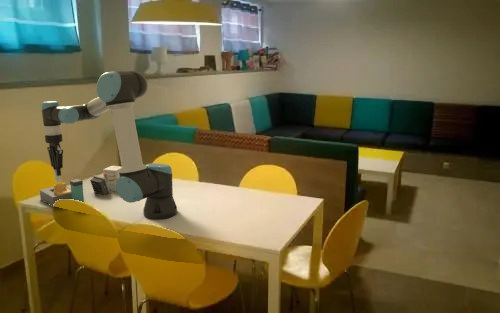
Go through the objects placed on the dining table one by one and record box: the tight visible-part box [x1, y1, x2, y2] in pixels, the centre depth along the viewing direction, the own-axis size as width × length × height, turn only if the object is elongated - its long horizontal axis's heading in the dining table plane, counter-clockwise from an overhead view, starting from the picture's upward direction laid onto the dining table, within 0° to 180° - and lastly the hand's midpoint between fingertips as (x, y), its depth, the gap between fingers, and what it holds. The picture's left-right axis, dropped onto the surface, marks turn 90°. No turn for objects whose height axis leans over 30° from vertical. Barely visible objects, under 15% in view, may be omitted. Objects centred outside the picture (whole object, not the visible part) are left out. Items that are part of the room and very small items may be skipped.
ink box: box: [102, 165, 122, 192], centre depth 232 cm, size 9×8×12 cm
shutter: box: [53, 182, 71, 196], centre depth 209 cm, size 6×6×4 cm
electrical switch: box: [89, 175, 111, 196], centre depth 224 cm, size 9×5×9 cm, turn 57°
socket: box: [39, 185, 72, 207], centre depth 213 cm, size 16×12×5 cm
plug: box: [69, 178, 85, 203], centre depth 207 cm, size 4×4×12 cm
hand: (58, 181), depth 211 cm, fingers closed
